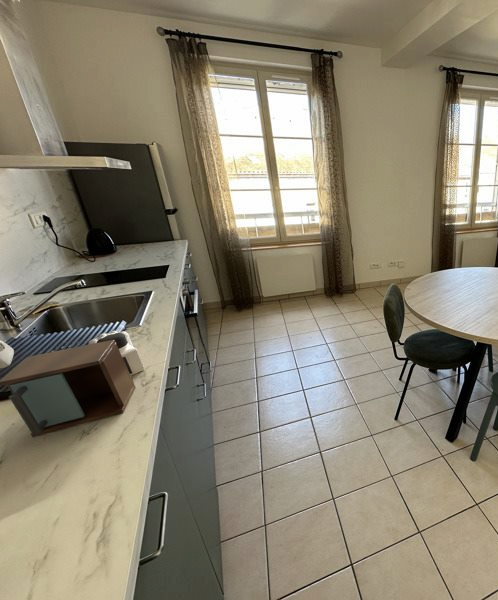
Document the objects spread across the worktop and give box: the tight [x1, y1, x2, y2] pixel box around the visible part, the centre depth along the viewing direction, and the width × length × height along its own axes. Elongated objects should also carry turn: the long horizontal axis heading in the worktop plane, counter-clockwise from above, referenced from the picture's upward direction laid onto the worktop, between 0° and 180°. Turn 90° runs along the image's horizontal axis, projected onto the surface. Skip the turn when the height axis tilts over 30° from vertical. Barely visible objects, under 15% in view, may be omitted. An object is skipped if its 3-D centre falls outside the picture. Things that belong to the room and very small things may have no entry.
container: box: [97, 333, 145, 377], centre depth 100 cm, size 8×8×13 cm
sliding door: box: [8, 373, 85, 437], centre depth 76 cm, size 9×5×13 cm, turn 114°
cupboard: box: [0, 340, 137, 438], centre depth 84 cm, size 18×12×16 cm, turn 114°
